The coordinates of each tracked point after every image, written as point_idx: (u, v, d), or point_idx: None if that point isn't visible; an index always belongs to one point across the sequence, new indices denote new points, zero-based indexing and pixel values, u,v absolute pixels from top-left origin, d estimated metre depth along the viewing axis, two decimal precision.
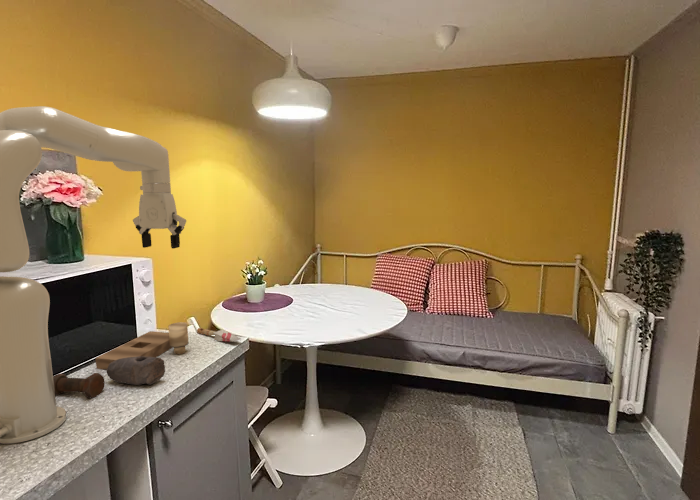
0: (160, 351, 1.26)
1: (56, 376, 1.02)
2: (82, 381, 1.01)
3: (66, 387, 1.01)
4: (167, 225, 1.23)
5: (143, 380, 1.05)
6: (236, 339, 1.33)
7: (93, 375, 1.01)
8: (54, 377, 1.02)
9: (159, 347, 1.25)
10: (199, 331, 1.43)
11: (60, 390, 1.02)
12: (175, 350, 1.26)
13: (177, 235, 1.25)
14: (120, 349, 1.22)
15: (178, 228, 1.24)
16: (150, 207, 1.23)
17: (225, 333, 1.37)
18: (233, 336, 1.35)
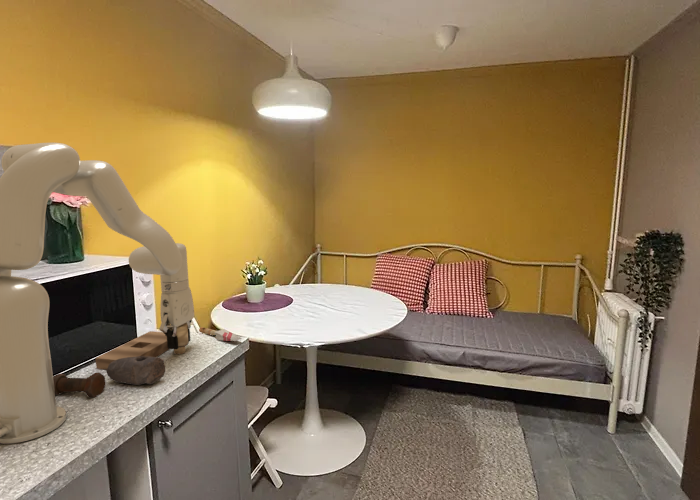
0: (160, 351, 1.26)
1: (56, 376, 1.02)
2: (83, 381, 1.01)
3: (67, 387, 1.01)
4: None
5: (143, 380, 1.05)
6: (237, 339, 1.34)
7: (94, 375, 1.01)
8: (54, 377, 1.02)
9: (159, 347, 1.25)
10: (201, 330, 1.44)
11: (60, 390, 1.02)
12: (175, 350, 1.26)
13: None
14: (120, 349, 1.22)
15: (190, 321, 1.31)
16: (183, 303, 1.24)
17: (226, 332, 1.38)
18: (234, 336, 1.36)
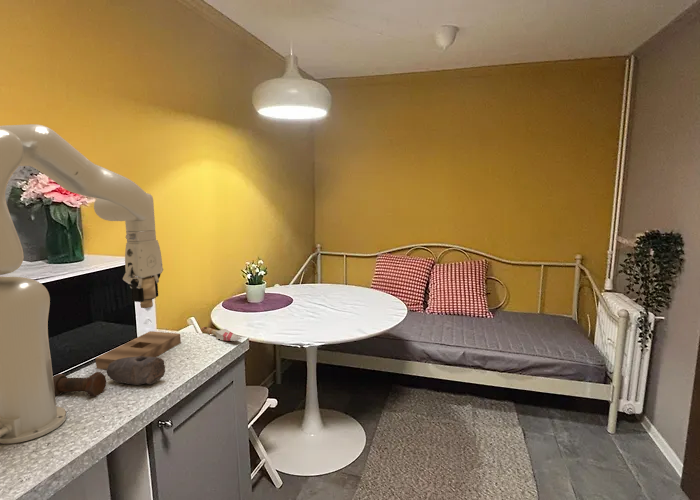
0: (160, 351, 1.26)
1: (56, 376, 1.02)
2: (84, 380, 1.01)
3: (68, 387, 1.01)
4: (162, 269, 1.26)
5: (143, 380, 1.05)
6: (236, 339, 1.34)
7: (95, 374, 1.02)
8: (54, 377, 1.02)
9: (159, 347, 1.25)
10: (203, 329, 1.45)
11: (61, 390, 1.02)
12: (141, 304, 1.22)
13: None
14: (120, 349, 1.22)
15: (158, 275, 1.27)
16: (150, 254, 1.21)
17: (227, 332, 1.38)
18: (234, 335, 1.36)
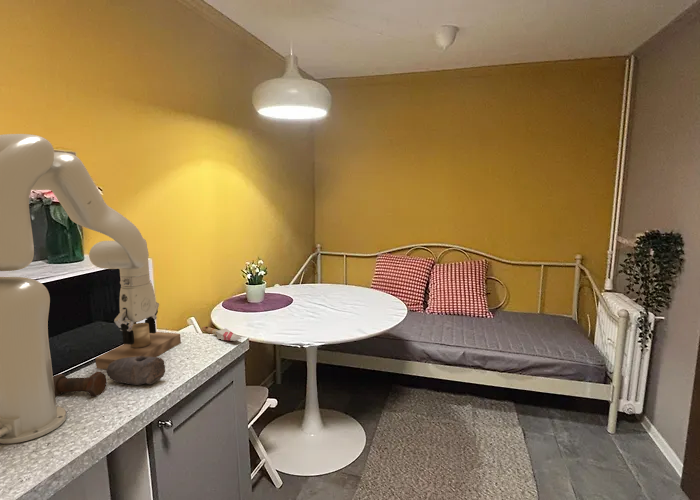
0: (160, 351, 1.26)
1: (56, 377, 1.02)
2: (84, 380, 1.01)
3: (68, 387, 1.01)
4: (156, 310, 1.28)
5: (143, 380, 1.05)
6: (236, 338, 1.34)
7: (96, 374, 1.02)
8: (54, 378, 1.02)
9: (159, 347, 1.25)
10: (204, 329, 1.45)
11: (61, 390, 1.02)
12: None
13: None
14: (120, 349, 1.22)
15: (156, 312, 1.30)
16: (144, 298, 1.22)
17: (227, 332, 1.38)
18: (234, 335, 1.36)
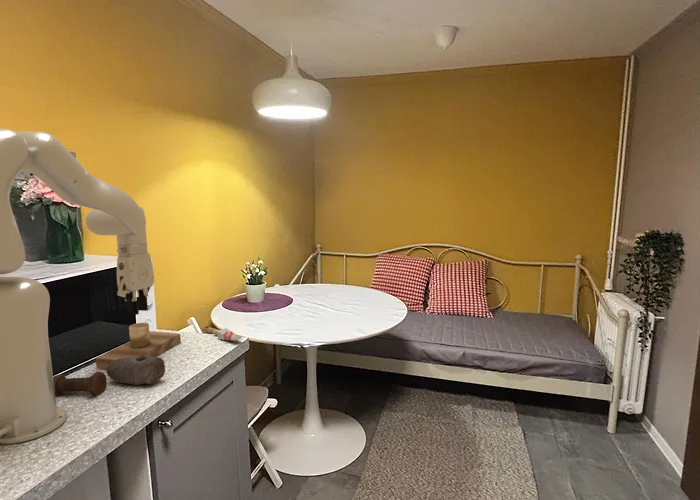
0: (160, 351, 1.26)
1: (55, 377, 1.02)
2: (85, 380, 1.01)
3: (68, 387, 1.01)
4: None
5: (143, 380, 1.05)
6: (237, 338, 1.34)
7: (96, 374, 1.02)
8: (54, 378, 1.01)
9: (159, 347, 1.25)
10: (204, 329, 1.45)
11: (61, 391, 1.01)
12: None
13: None
14: (120, 349, 1.22)
15: (148, 289, 1.27)
16: (141, 267, 1.21)
17: (227, 332, 1.38)
18: (234, 335, 1.36)
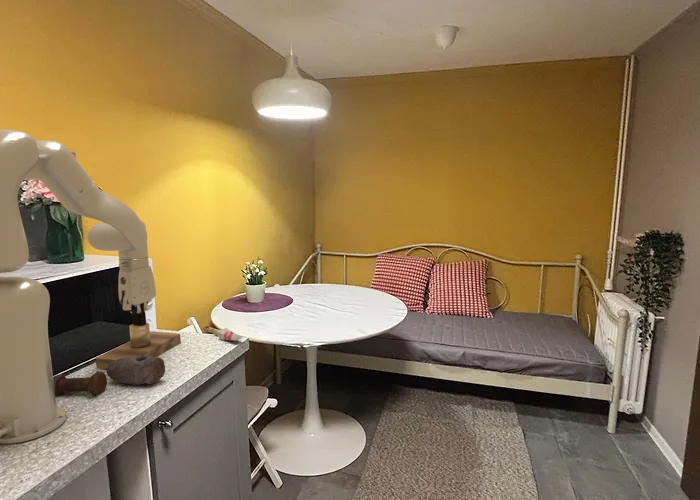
0: (160, 351, 1.26)
1: (55, 377, 1.02)
2: (85, 380, 1.01)
3: (69, 387, 1.01)
4: (155, 294, 1.27)
5: (143, 380, 1.05)
6: (237, 338, 1.34)
7: (97, 373, 1.02)
8: (54, 378, 1.01)
9: (159, 347, 1.25)
10: (204, 329, 1.45)
11: (61, 391, 1.01)
12: None
13: None
14: (120, 349, 1.22)
15: None
16: (143, 281, 1.22)
17: (228, 332, 1.38)
18: (235, 335, 1.36)
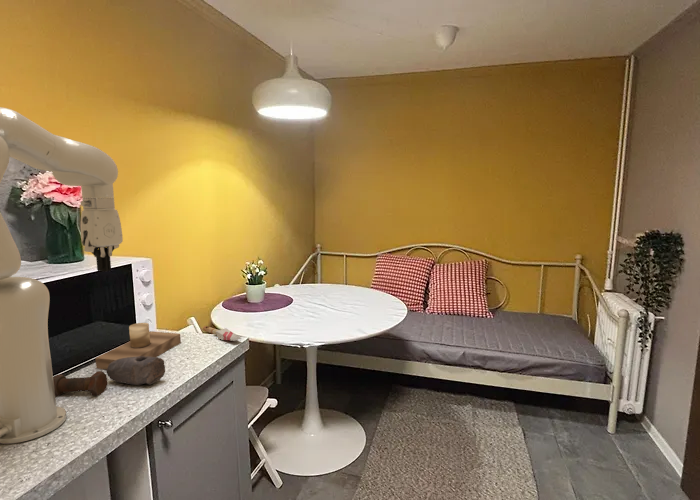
0: (160, 351, 1.26)
1: (56, 377, 1.02)
2: (86, 380, 1.01)
3: (69, 387, 1.01)
4: (122, 240, 1.22)
5: (143, 380, 1.05)
6: (236, 338, 1.34)
7: (97, 373, 1.02)
8: (54, 378, 1.01)
9: (159, 347, 1.25)
10: (204, 329, 1.45)
11: (61, 391, 1.01)
12: None
13: None
14: (120, 349, 1.22)
15: (112, 248, 1.21)
16: (107, 223, 1.16)
17: (227, 332, 1.38)
18: (234, 335, 1.36)
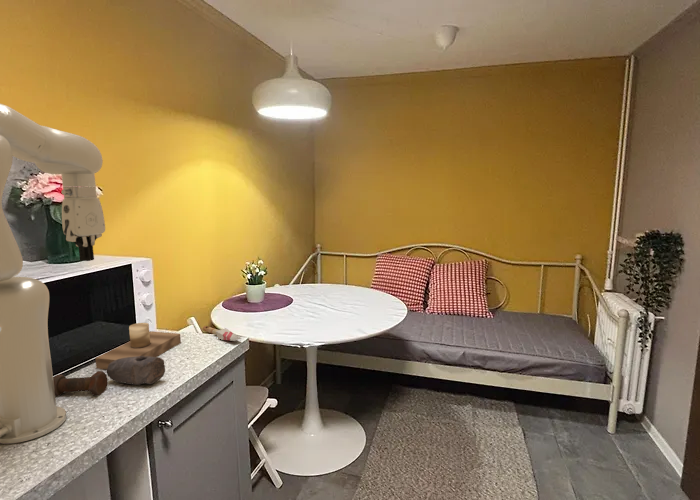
0: (160, 351, 1.26)
1: (56, 377, 1.02)
2: (86, 380, 1.01)
3: (69, 387, 1.01)
4: (104, 229, 1.21)
5: (143, 380, 1.05)
6: (236, 338, 1.34)
7: (97, 373, 1.02)
8: (54, 378, 1.01)
9: (159, 347, 1.25)
10: (204, 329, 1.45)
11: (61, 391, 1.01)
12: None
13: None
14: (120, 349, 1.22)
15: (94, 238, 1.19)
16: (89, 212, 1.15)
17: (227, 332, 1.38)
18: (234, 335, 1.36)
